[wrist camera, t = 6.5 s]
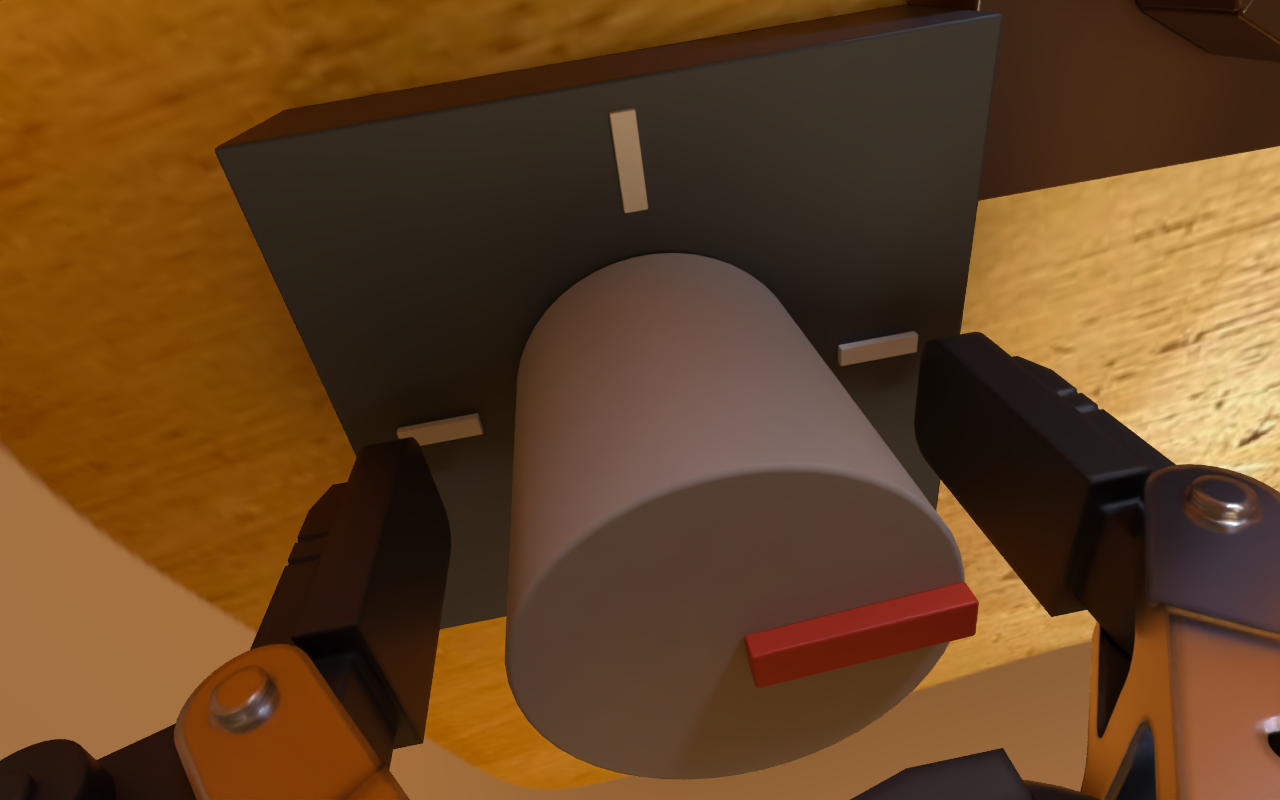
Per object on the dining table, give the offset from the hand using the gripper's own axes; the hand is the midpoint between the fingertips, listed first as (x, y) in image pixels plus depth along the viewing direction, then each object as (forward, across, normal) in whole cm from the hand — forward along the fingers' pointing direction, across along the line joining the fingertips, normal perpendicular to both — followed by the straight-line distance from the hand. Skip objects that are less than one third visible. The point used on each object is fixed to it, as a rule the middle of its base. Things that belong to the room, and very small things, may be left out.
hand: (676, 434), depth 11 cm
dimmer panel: (+4, 0, 0) cm, 4 cm away
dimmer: (+1, 0, 0) cm, 1 cm away
